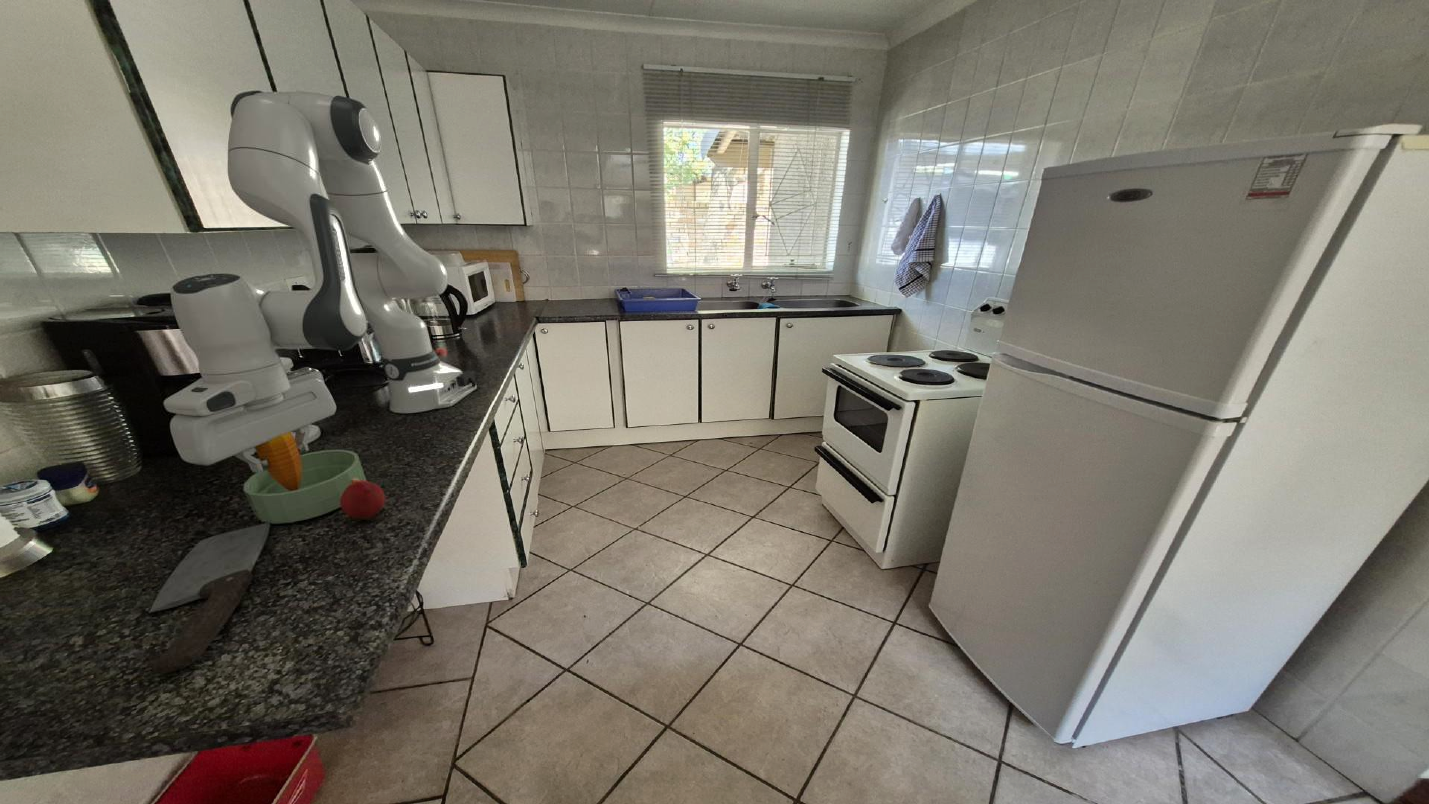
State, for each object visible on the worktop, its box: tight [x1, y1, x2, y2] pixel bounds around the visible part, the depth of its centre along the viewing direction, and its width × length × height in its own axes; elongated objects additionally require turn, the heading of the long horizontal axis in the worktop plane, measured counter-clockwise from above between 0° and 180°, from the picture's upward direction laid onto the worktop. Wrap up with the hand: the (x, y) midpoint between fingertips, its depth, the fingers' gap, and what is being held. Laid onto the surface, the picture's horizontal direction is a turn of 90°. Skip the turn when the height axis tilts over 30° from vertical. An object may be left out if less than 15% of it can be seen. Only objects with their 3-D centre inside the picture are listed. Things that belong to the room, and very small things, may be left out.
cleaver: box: [148, 522, 271, 676], centre depth 60 cm, size 29×10×2 cm, turn 34°
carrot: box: [255, 433, 302, 491], centre depth 74 cm, size 5×5×15 cm
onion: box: [340, 478, 387, 521], centre depth 74 cm, size 6×6×8 cm
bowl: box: [242, 449, 367, 525], centre depth 79 cm, size 15×15×6 cm
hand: (281, 461), depth 75 cm, fingers closed on carrot, 5 cm apart
